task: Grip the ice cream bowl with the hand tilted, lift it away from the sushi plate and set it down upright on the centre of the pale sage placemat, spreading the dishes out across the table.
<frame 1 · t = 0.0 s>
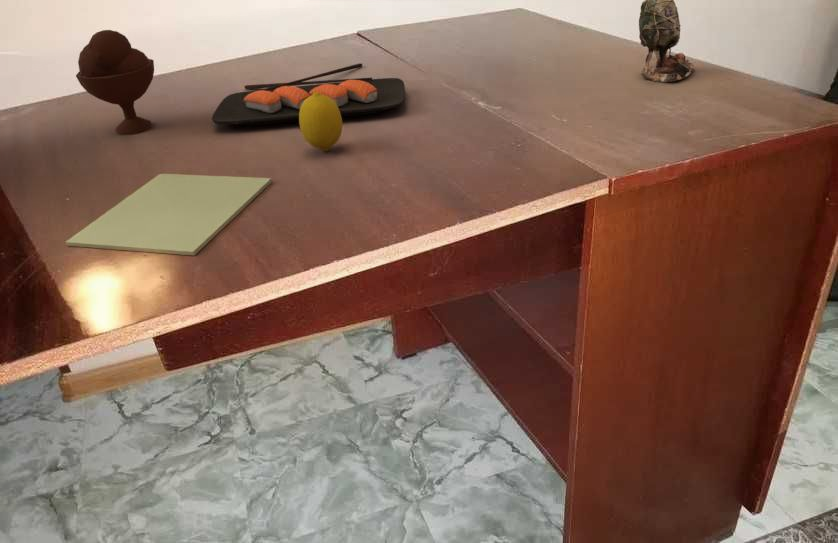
placemat: (175, 211, 81), on the table
ice cream bowl: (134, 129, 108), on the table
lemon: (325, 152, 93), on the table
sushi plate: (317, 96, 115), on the table
plant with pod: (662, 77, 108), on the table
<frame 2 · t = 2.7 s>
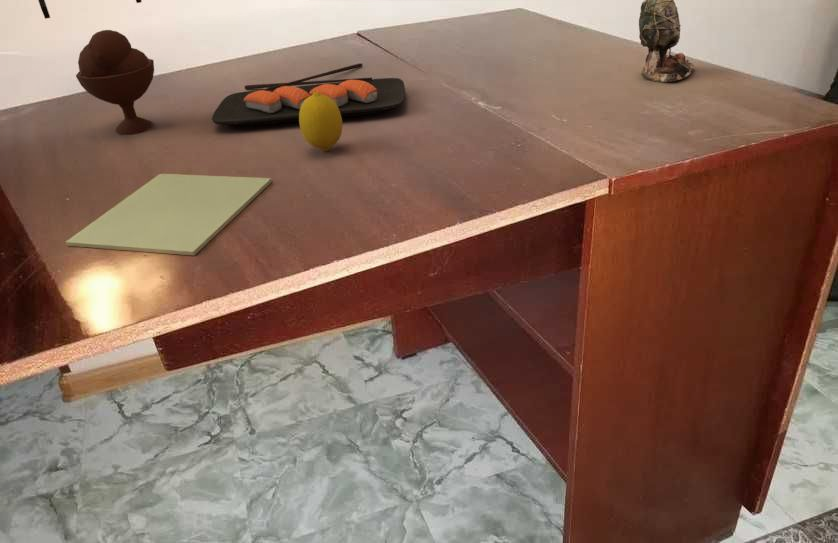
hand: (92, 5, 108), 17 cm above the table, tool tilted 45°, fingers open, 13 cm apart
nothing on the table moved.
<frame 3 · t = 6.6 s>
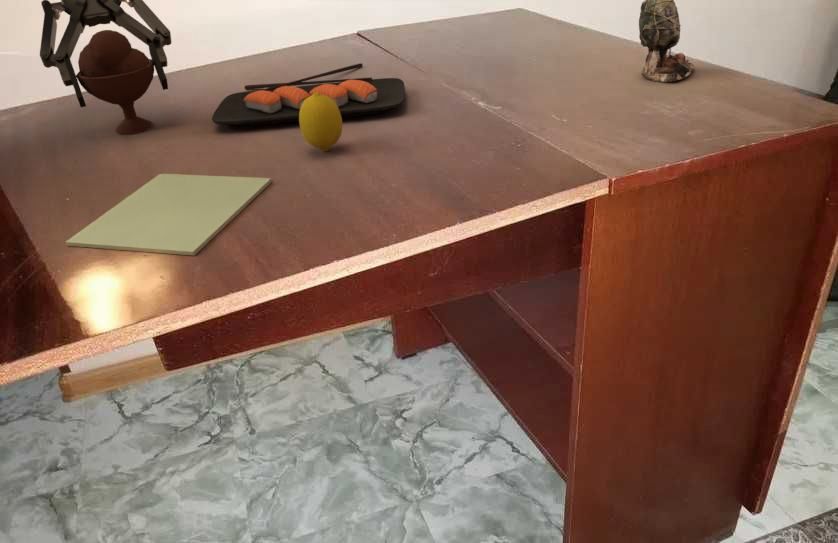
hand: (124, 93, 103), 6 cm above the table, tool tilted 45°, fingers closed on ice cream bowl, 11 cm apart
ice cream bowl: (134, 129, 108), on the table, touching gripper
everything else where it was.
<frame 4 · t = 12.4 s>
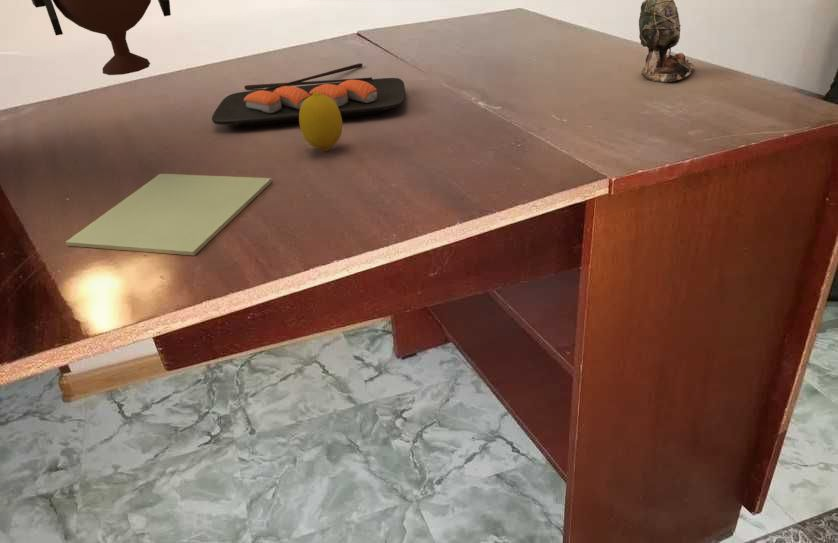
hand: (113, 17, 78), 20 cm above the table, tool tilted 45°, fingers closed on ice cream bowl, 11 cm apart
ice cream bowl: (127, 69, 84), point 14 cm above the table, touching gripper
everything else where it was.
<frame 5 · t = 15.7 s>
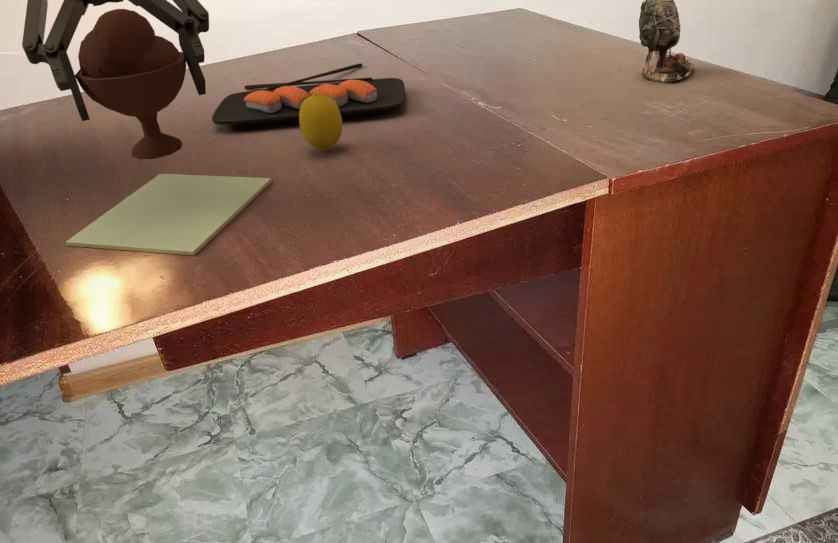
hand: (144, 100, 72), 14 cm above the table, tool tilted 45°, fingers closed on ice cream bowl, 11 cm apart
ice cream bowl: (158, 151, 77), point 7 cm above the table, touching gripper
everything else where it was.
when the fingers open (7 cm above the table, at t = 18.3 s): ice cream bowl stays where it is, resting on placemat.
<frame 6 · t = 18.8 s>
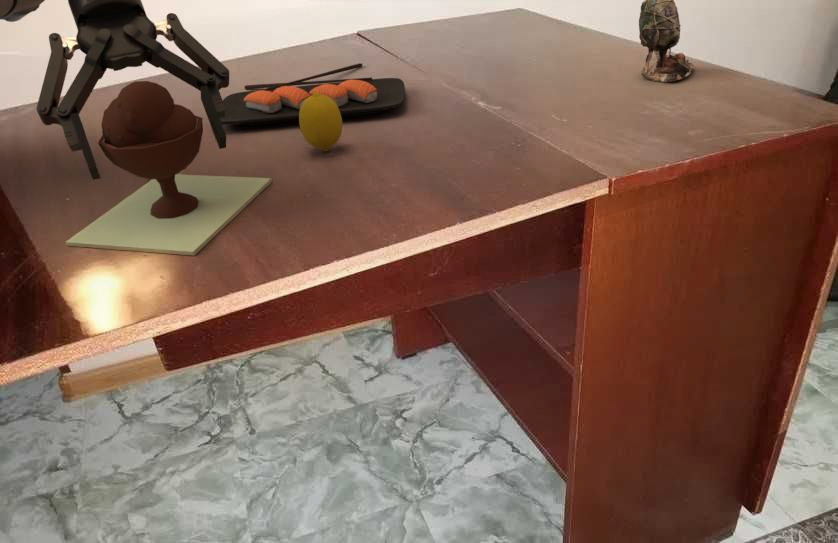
hand: (161, 158, 75), 7 cm above the table, tool tilted 45°, fingers open, 13 cm apart
ice cream bowl: (175, 209, 81), resting on placemat
everything else where it was.
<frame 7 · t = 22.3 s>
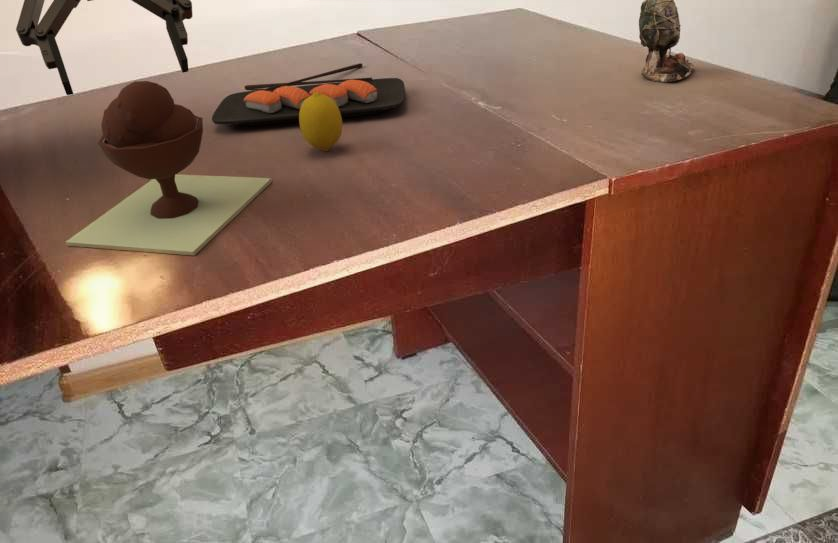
hand: (128, 77, 84), 13 cm above the table, tool tilted 45°, fingers open, 13 cm apart
nothing on the table moved.
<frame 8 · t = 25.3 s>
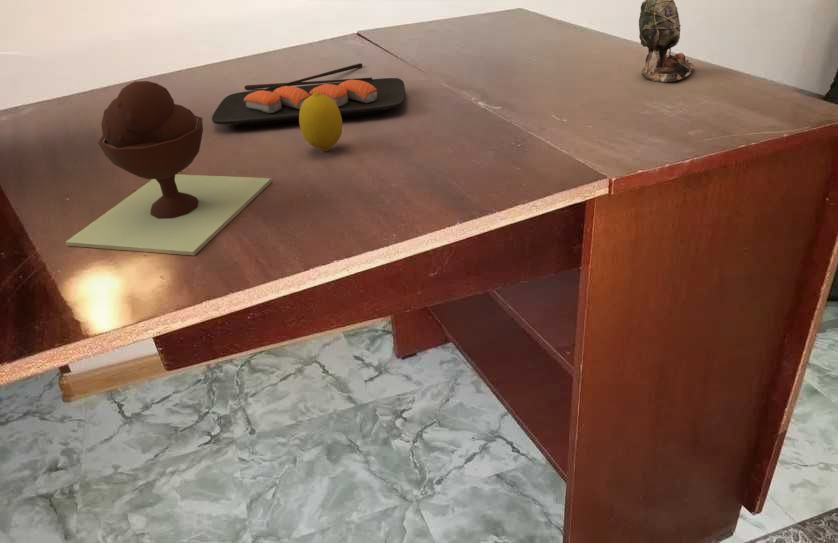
nothing on the table moved.
at the end: ice cream bowl inside the target area on the placemat (0.0 cm from its centre), point 0.3 cm above the placemat's base; ice cream bowl tilted 0°; the gripper is holding nothing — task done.
